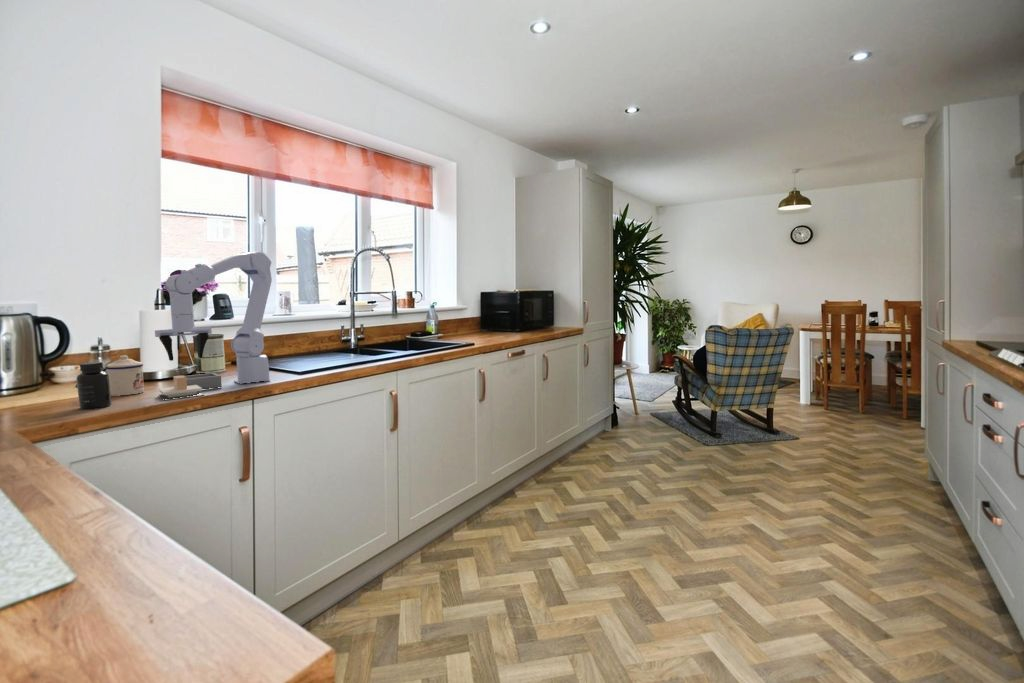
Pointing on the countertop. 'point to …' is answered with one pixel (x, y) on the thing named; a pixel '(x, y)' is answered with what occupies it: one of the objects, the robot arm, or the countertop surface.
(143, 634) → the countertop surface
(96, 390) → the supplement bottle
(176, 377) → the lid
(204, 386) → the box
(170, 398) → the mat
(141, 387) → the ceramic lidded jar
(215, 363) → the coffee can
